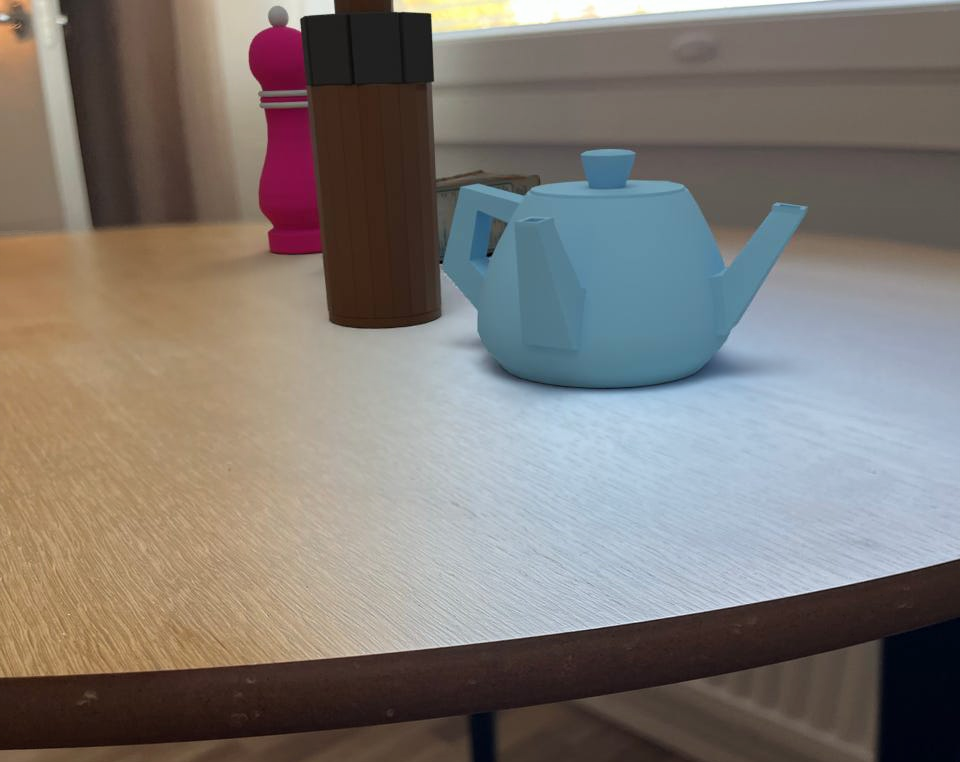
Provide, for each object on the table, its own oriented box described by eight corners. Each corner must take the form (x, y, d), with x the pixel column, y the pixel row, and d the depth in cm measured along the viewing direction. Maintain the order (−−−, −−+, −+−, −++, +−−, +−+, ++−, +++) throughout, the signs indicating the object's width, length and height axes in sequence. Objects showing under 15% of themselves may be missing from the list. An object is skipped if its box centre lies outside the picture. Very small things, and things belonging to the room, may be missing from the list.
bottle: (305, 321, 69) (270, -11, 60) (374, 301, 75) (351, -5, 66) (398, 332, 66) (376, -20, 56) (462, 310, 71) (451, -13, 62)
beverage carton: (321, 263, 91) (313, 182, 88) (496, 241, 100) (495, 167, 97) (365, 274, 85) (358, 187, 82) (547, 249, 94) (547, 171, 91)
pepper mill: (305, 257, 94) (279, 1, 85) (248, 252, 98) (217, 6, 88) (355, 246, 99) (336, 4, 90) (299, 241, 103) (275, 9, 93)
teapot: (666, 322, 66) (676, 136, 61) (798, 377, 54) (825, 149, 48) (438, 345, 62) (429, 149, 57) (523, 410, 50) (521, 166, 44)
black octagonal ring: (282, 86, 62) (275, 17, 61) (358, 83, 68) (353, 20, 66) (383, 83, 59) (378, 10, 57) (454, 80, 64) (452, 14, 63)
